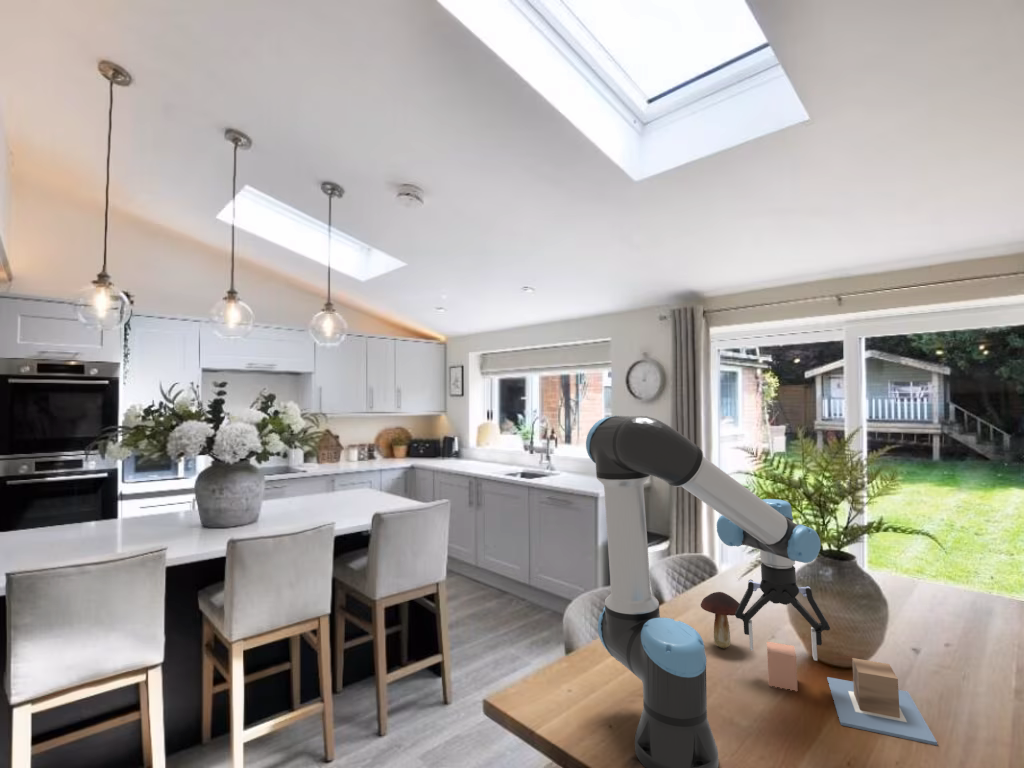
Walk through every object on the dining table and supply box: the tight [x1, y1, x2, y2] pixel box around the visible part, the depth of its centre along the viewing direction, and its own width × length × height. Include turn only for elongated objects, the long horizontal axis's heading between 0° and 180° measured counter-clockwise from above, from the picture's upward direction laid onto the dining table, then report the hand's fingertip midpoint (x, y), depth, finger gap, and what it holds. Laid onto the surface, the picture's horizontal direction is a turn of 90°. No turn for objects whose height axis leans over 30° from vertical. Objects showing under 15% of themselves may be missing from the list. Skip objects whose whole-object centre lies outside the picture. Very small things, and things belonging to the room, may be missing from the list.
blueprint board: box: [826, 676, 938, 746], centre depth 111 cm, size 20×16×1 cm
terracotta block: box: [766, 641, 799, 692], centre depth 123 cm, size 6×6×8 cm
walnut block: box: [851, 657, 900, 718], centre depth 111 cm, size 7×7×8 cm
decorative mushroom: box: [700, 591, 740, 649], centre depth 141 cm, size 11×11×15 cm
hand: (782, 653), depth 123 cm, fingers open, 13 cm apart
